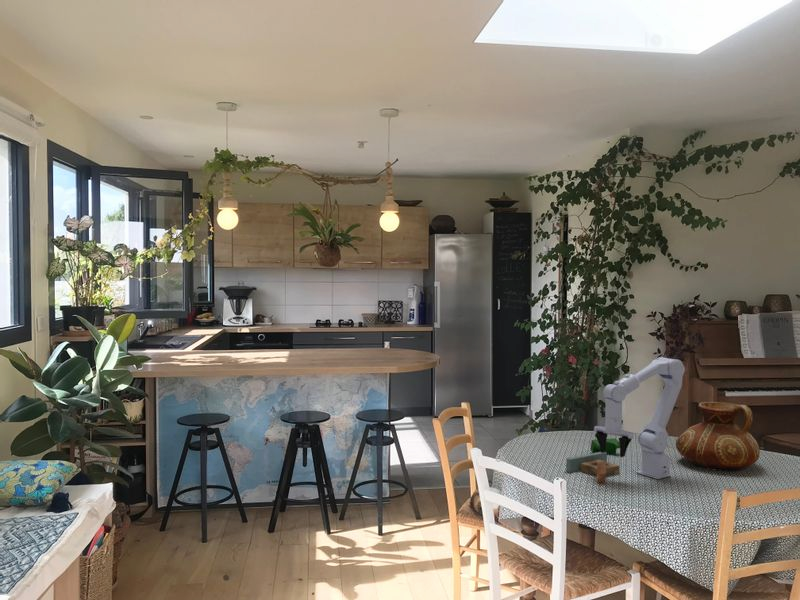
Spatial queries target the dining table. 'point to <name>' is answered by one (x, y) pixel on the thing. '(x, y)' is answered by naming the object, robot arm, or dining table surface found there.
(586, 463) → the square frame
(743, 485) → the dining table surface
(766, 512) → the dining table surface
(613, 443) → the clamp
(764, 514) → the dining table surface
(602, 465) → the dowel
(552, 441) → the dining table surface
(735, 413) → the jug
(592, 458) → the wall
